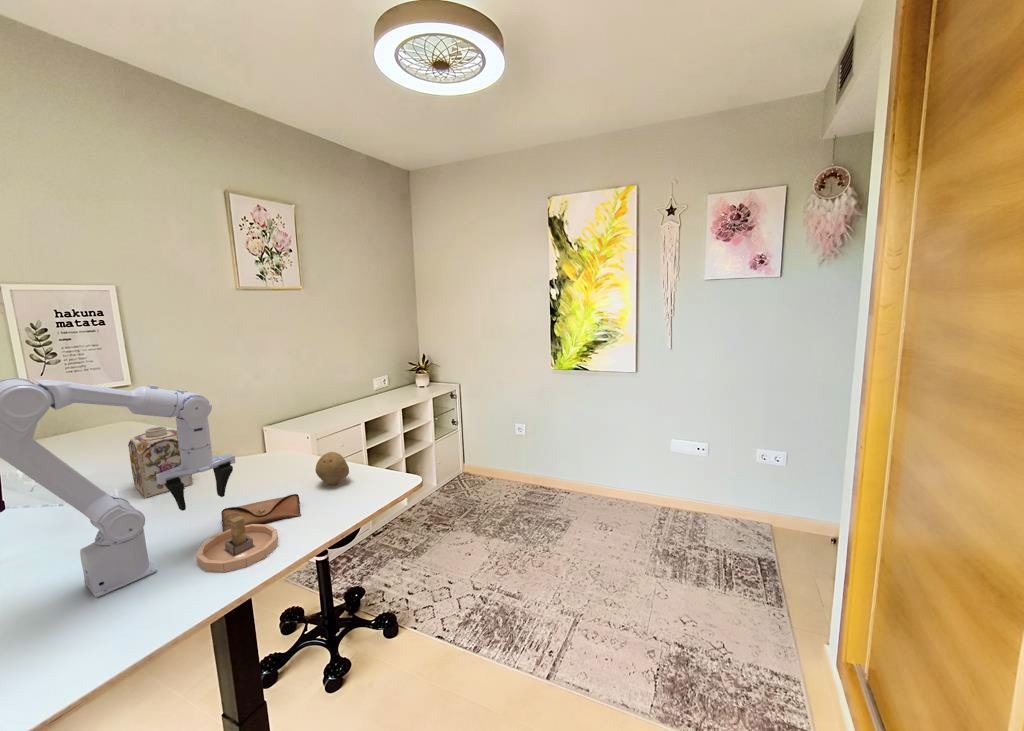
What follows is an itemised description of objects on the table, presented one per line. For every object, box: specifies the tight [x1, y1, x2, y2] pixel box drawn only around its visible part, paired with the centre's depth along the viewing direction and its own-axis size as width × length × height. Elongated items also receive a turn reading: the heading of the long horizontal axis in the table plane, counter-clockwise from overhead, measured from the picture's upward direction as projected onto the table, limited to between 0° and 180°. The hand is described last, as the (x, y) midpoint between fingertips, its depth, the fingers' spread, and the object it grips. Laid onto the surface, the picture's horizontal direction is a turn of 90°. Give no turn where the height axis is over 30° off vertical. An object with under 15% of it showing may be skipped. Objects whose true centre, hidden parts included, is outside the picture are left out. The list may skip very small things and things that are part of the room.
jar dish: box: [196, 524, 279, 573], centre depth 95 cm, size 15×15×2 cm
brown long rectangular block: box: [230, 516, 246, 546], centre depth 95 cm, size 2×2×7 cm
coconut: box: [315, 451, 350, 486], centre depth 128 cm, size 9×9×10 cm
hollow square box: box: [223, 535, 255, 557], centre depth 95 cm, size 5×5×2 cm
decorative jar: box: [127, 426, 193, 499], centre depth 125 cm, size 12×12×18 cm
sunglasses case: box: [220, 493, 302, 532], centre depth 109 cm, size 18×7×7 cm, turn 122°
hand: (202, 502), depth 97 cm, fingers open, 7 cm apart
